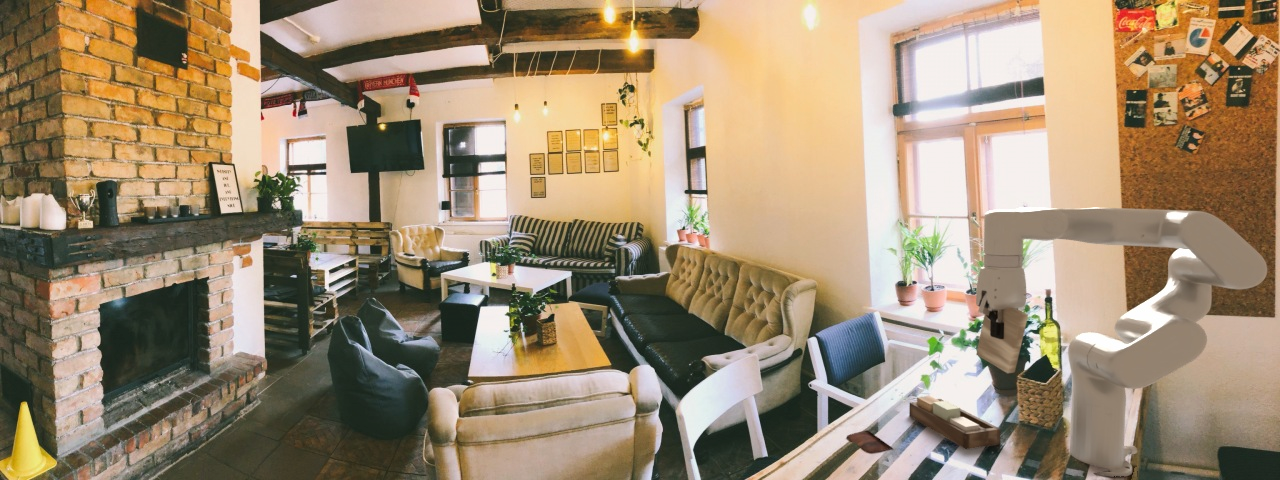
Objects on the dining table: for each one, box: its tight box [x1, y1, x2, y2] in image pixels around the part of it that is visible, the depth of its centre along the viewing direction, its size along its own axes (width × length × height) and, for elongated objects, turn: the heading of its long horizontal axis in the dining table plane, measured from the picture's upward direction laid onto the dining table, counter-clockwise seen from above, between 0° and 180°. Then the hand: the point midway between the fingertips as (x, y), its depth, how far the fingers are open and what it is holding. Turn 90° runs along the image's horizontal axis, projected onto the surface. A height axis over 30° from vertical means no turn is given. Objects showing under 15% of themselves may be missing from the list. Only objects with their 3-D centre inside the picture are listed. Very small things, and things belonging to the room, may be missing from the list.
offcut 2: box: [950, 417, 979, 432], centre depth 131 cm, size 4×5×5 cm
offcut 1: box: [916, 395, 940, 413], centre depth 142 cm, size 4×5×6 cm
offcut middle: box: [933, 400, 961, 423], centre depth 136 cm, size 4×5×7 cm
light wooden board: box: [975, 308, 1029, 374], centre depth 121 cm, size 2×9×15 cm, turn 10°
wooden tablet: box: [846, 430, 894, 454], centre depth 137 cm, size 26×2×10 cm
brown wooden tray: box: [908, 398, 1002, 450], centre depth 137 cm, size 10×20×6 cm, turn 10°
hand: (1001, 336), depth 121 cm, fingers closed on light wooden board, 1 cm apart
